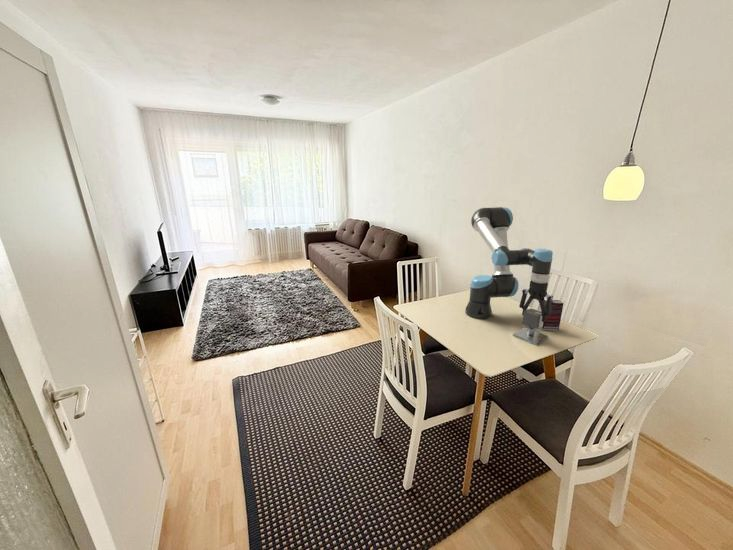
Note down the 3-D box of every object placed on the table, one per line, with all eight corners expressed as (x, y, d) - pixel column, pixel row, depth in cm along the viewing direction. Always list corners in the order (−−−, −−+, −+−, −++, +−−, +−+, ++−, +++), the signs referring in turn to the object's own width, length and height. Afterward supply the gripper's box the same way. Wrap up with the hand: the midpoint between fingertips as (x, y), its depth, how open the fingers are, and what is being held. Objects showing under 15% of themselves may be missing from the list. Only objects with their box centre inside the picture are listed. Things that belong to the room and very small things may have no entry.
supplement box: (554, 326, 162) (559, 299, 157) (558, 330, 157) (564, 303, 153) (537, 326, 163) (542, 299, 158) (541, 330, 158) (546, 302, 154)
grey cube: (528, 320, 154) (530, 307, 152) (542, 325, 148) (545, 312, 146) (521, 324, 150) (523, 311, 148) (536, 329, 144) (538, 315, 142)
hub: (512, 335, 153) (513, 325, 151) (524, 329, 160) (525, 319, 158) (536, 345, 144) (538, 334, 142) (547, 338, 150) (549, 327, 148)
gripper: (514, 277, 148) (509, 319, 155) (558, 287, 133) (550, 333, 139) (522, 275, 152) (517, 316, 159) (565, 284, 137) (557, 329, 143)
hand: (532, 324), depth 149 cm, fingers closed on grey cube, 7 cm apart
